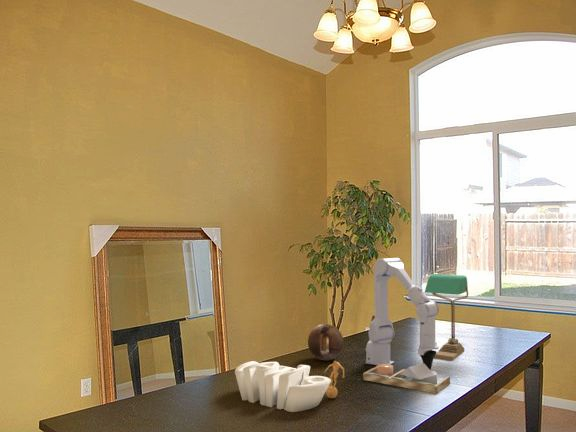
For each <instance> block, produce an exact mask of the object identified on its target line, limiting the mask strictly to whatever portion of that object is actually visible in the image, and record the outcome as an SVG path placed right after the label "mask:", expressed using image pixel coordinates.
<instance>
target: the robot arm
mask: <svg viewBox="0 0 576 432" xmlns="http://www.w3.org/2000/svg"><path fill="white" fill-rule="evenodd" d="M392 277H394V278H396V279H397V280H398V281H399V283H400V284H401V285H402V286H403V287H404V288H405V289H406V291H407V293H406V295H407V297H408V298H409V300H410V301H411V302H412V303H413V305H414V306H415V308H416V309H415V311H416V315H417V318H418V321H419V345H418V349H417V355H419V357H420V358H421V361H422V364H423V363H424V364H425V365H426V366H427V367H428V368H429V369H430V370H432V367H433V366H432V365H433V361H434V359H435V358H434V356H435V354H436V353H437V351H436V350H440V348H439V346H438V345H437V342H436V316H437V315H438V314H439V305H438V304H437V302H436V301H434V300H432V299H430V298H429V296H427V295H426V292H425V291H423V288H422V287H421V286H419V285H415V283H414V282H413V281H412V279H411V278H410V276H409V274H408V273H407V271H406V270H405V264H404V263H403V262H402V260H401V259H400V258H399V257H391V258H390V257H389V258H387V257H386V258H381V257H380V258H378V259H376V261H375V262H374V274H373V282H374V283H373V289H374V290H373V291H374V292H373V293H374V294H373V295H374V296H373V297H374V316H375V318H374V320H373V321H372V322H371V321H370V323H369V329H368V338H369V339H370V340H371V341H369V340H368V341H367V343H366V348H365V349H366V351H365V353H366V354H365V356H366V357H365V358H366V359H365V362H364V363H365V364H367V365H375V366H377V365H378V364H390V365H393V364H394V363H395V361H393V360H391V342H392V340H393V339H394V338H395V329H394V326H393V324H394V323H393V321H392V320H391V319H389V295H388V293H389V292H388V290H389V289H388V288H389V287H388V280H390V279H391V278H392Z"/></svg>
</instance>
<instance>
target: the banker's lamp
mask: <svg viewBox="0 0 576 432" xmlns="http://www.w3.org/2000/svg"><path fill="white" fill-rule="evenodd" d="M468 288H469V287H468V278H467V276H466V275H464V274H463V275H461V274H444V273H443V274H442V273H441V274H440V273H438V274H437V273H435V274H430V275H429V277H428V280H427V282H426V286H425V289H424V293H425V294H426V293H427V294H429V293H430V294H432V295H433V296H434V297H436V298H437V297H438V298H440V299H444V300H446V301H449V302H450V309H451V311H450V313H451V314H450V315H451V318H450V319H451V320H450V321H451V322H450V323H451V325H450V327H451V328H450V329H451V330H450V331H451V334H450V337H451V338H450V337H449V338H448V341H447V342H446V343H444V344H443V345H442V346H441V347H440V348H439V349H438V351H436V354H435V356H434V359H437V360H445V361H451V362H452V361H454V360H455V359H457V358H458V357H459V356H460V355H462V354H463V353H464V352H465V347H464V346H463V344H462V343H461V342H459V339H458V338H456V324H455V323H456V317H455V314H456V311H455V310H456V306H455V301H459V300H465V299H467V298H468V297H469V290H468ZM465 292H466V295H464V296H461V297H458V298H454V299H453V300H452V299H451V298H450V297H446V296H444V295H456V296H458V295H462V294H464V293H465ZM441 294H442V295H441Z"/></svg>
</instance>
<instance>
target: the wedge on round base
mask: <svg viewBox="0 0 576 432" xmlns="http://www.w3.org/2000/svg"><path fill="white" fill-rule="evenodd" d="M405 369H406V370H404V371H403V372H401V373H400V374H401V375H405V377H409V378H411V380H414V381H419V382H425V383H431V384H435V385H436V384H437V383H438V373H437V371H435V370H432V369H431V370H430V369H429V368H428V367H427V366H426V365H425V364H424V363H423V362H422V363H419V364H415V365H413V366H409V367H408V368H405Z"/></svg>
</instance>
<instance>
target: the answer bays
mask: <svg viewBox="0 0 576 432" xmlns="http://www.w3.org/2000/svg"><path fill="white" fill-rule="evenodd" d="M406 369H407V368H402V369H401V370H399V371H397V372H395V373H393V375H392V376H390V377H389V376H385V375H380V374H377V365H375V366H374V367H373V368H370V369H368V370H366V371H364V372H363V373H362V378H363V379H362V380H363V381H369V382H374V383H378V384H384V385H389V386H396V387H400V388H406V389H411V390H417V391H422V392H427V393H433V394H438V393H439V392H441V391H442V390H443V389H445V388H446V387H447V386H449V385H450V384H451V376H449V375H447V376H445V377H444V378H443V379H441V380H440V381H438V382H437V384H431V383H425V382H419V381H414V380H412V379H407V378H405V377H406V376H405V375H401V374H400V373H401V372H403V371H404V370H406Z"/></svg>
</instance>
